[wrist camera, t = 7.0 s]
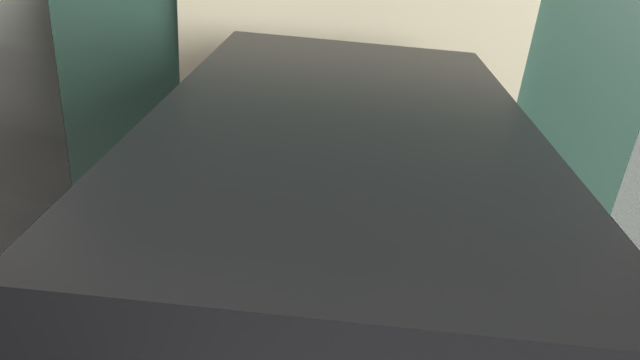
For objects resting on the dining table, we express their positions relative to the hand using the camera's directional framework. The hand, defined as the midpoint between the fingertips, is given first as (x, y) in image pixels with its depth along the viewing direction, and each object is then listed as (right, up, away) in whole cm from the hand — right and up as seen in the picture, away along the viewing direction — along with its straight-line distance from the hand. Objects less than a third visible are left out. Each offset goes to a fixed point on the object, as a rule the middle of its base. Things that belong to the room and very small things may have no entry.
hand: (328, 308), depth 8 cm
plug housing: (0, +1, +1) cm, 2 cm away
